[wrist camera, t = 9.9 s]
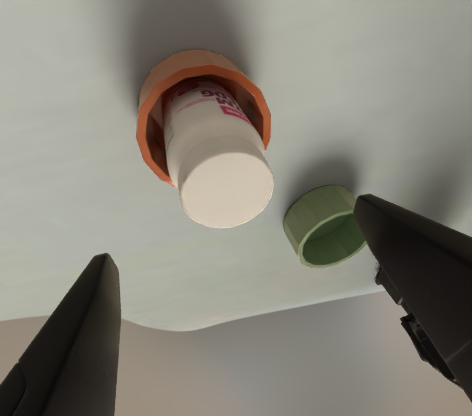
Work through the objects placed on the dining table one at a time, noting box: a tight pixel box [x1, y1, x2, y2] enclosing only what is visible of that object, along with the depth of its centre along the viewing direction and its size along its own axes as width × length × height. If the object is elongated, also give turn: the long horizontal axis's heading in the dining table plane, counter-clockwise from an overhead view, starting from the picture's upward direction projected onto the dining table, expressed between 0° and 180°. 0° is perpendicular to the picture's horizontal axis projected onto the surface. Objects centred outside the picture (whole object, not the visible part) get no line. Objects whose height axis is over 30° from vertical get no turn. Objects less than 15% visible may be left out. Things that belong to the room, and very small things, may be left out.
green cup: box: [284, 185, 367, 268], centre depth 26 cm, size 7×7×4 cm
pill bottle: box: [163, 79, 274, 228], centre depth 14 cm, size 5×5×8 cm
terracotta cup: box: [136, 49, 271, 186], centre depth 16 cm, size 7×7×4 cm
